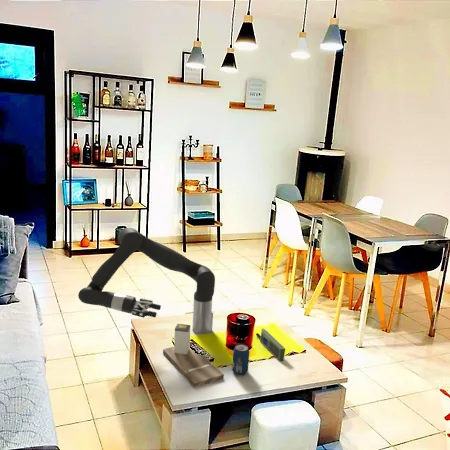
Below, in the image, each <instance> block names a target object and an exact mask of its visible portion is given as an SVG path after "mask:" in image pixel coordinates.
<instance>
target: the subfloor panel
mask: <svg viewBox="0 0 450 450" xmlns="http://www.w3.org/2000/svg"><path fill="white" fill-rule="evenodd" d="M162 354H163V355H164V356H165V358H167V359H168V360H169V361H170V362H171V364H172V365H173V366H174V367H175V368H176V369H177V370H178V372H180V373H181V375H183V377H184V378H185V379H186V381H188V382H189V383H190V385H191V386H192V387H193V388H198V387H200V386H203V385H204V386H205V385H207V384H210V383H213V382H217V381H220V380H223V379H224V376H225V374H224V373H223V372H222V371H221V370H220V369H219V368H217V366H216V365H214V363H212V362H211V361H210V360H209V359H208V358H207V357H206V356H205V355H204V354H203V355H204V356H203V355H200V354H197V353H195V351H194V350H192V349H191V348H190V347H189V351H188V353H187V354H180V353H174V346H172V347H171V346H170V347H166V348H163V349H162Z"/></svg>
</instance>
